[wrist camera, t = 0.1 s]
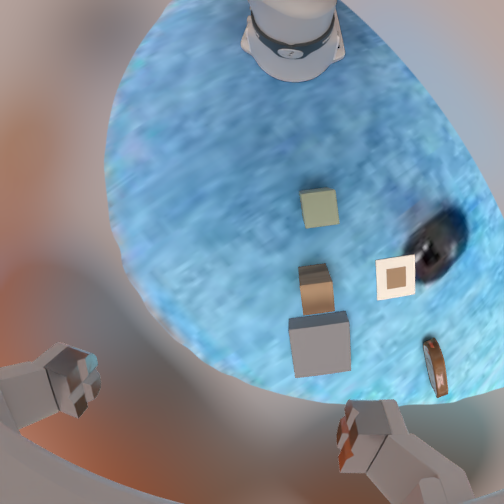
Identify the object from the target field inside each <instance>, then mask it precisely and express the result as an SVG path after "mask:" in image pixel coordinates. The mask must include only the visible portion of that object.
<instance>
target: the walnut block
mask: <svg viewBox="0 0 504 504" xmlns="http://www.w3.org/2000/svg"><path fill="white" fill-rule="evenodd" d="M298 269H299V281H300V291H301V299H302V307H303V315H310V314H317V313H325V312H332V311H335V307H334V295H333V283H332V279H331V277H330V274H329V271H328V269H327V266H326V264H325V263H324V264H317V265H309V266H302V267H298Z"/></svg>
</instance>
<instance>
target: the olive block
mask: <svg viewBox="0 0 504 504" xmlns="http://www.w3.org/2000/svg"><path fill="white" fill-rule="evenodd" d="M299 195H300V202H301V209H302V216H303V221H304V224H305V228H313V227H321V226H328V225H336V224H339V216H338V208H337V200H336V193H335V190H334V189H331V188H328V187H324V188H317V189H309V190H302V191H299Z"/></svg>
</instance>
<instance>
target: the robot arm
mask: <svg viewBox="0 0 504 504" xmlns="http://www.w3.org/2000/svg"><path fill="white" fill-rule="evenodd" d="M248 2H249V4H250V10H251V16H248V18H247V23H248V24H247V27H246V29H245V32H244V35H243V37H242V40H241V48H242V49H243V50H244V51H245V52H247V53H249V54H250V55H252V56H253V57H254V59H255V60H256V62H257V63H258V65H259V66H260V67H261V68H262V69H263V70H264V71H265V72H266V73H267V74H269V75H270V76H272V77H274V78H277V79H279V80H283V81H287V82H302V81H307V80H310V79H313V78H315V77H317V76H318V75H320V74H321V73H323V72H324V71H325V70H326V68H327V67H328V66H329V65H330V64H332V63H334V62H337V61H339V60H341V59H343V58H344V56H345V49H344V44H343V39H342V34H341V30H340V25H339V21H338V16H337V12H336V8H335V7H336V3H337V0H248ZM338 47H339V49H337V48H338ZM97 365H98V362H97V358H96V356H95V355H94V354H92V353H89V352H87V351H84V350H81V349H78V348H75V347H73V346H69V345H67V344H64V343H62V342H58V343H56V344H55V345H53V346H52V347H51V348H50V349H48V350H47V351H46V352H44V353H43V354H42V355H41V356H40V357H38V358H37V359H36V360H34V361H33V362H29V361H28V362H24V363H19V364H15V365H10V366H6V367H1V368H0V504H183V503H178V502H175V501H171V500H167V499H164V498H161V497H157V496H154V495H151V494H148V493H144V492H141V491H138V490H135V489H132V488H130V487H127V486H124V485H122V484H119V483H116V482H114V481H111V480H109V479H106V478H104V477H101V476H99V475H96V474H94V473H92V472H90V471H87V470H85V469H83V468H81V467H79V466H77V465H74V464H73V463H70V462H68V461H66V460H64V459H62V458H61V457H58V456H57V455H55V454H53V453H51V452H49V451H47V450H46V449H44V448H42V447H40V446H38V445H37V444H35V443H33V442H32V441H30V440H28V439H27V438H25V437H23V436H22V435H21V434H20V432H19V429H21V428H23V427H26V426H28V425H30V424H33V423H35V422H37V421H40V420H42V419H44V418H46V417H48V416H51V415H53V414H55V413H57V412H59V411H61V412H63V413H66V414H68V415H71V416H73V417H76V418H79V417H80V416H81V415H82V414H83V412H84V411H85V410H86V409H87V408H88V405H87V404H88V403H87V402H89V401H92V400H94V399H95V398H96V397H97V395H98V393H99V391H100V388H101V378H100V374H99V373H98V372H97V370H96V369H95V368H96V367H97ZM344 411H345V416H344V417H343V418H341V419H340V422H339V425H338V429H337V434H336V442H337V447H338V448H339V449H340V450H341V451H340V454H339V456H338V461H339V470H340V473H366V475H367V476H368V477H369V478H370V480H371V481H372V482H373V483H374V484H375V485H376V486H377V488H378V489H379V490H380V491H381V492H382V493H383V495H384V496H385V497H386V498H387V499H388V500H389V501H390V503H391V504H504V489H502V490H499V491H496V492H493V493H491V494H488V495H485V496H482V497H478V498H475V496H474V493H473V491H472V488H471V486H470V483H469V481H468V479H467V476H466V474H465V472H464V470H463V469H461V468H460V467H459V466H457V465H456V464H454V463H453V462H451V461H450V460H449V459H447V458H446V457H444V456H443V455H442V454H440V453H439V452H437V451H436V450H435V449H433V448H432V447H430V446H429V445H428V444H426V443H425V442H424V441H422V440H421V439H419V438H418V437H417V436H415V435H414V434H409V433H408V431H407V428H406V425H405V422H404V420H403V417H402V415H401V412H400V410H399V407H398V404H397V402H396V401H395V400H350V399H349V400H348V401H347V403H346V406H345V408H344Z"/></svg>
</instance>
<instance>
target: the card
mask: <svg viewBox="0 0 504 504" xmlns="http://www.w3.org/2000/svg"><path fill="white" fill-rule="evenodd" d="M375 262H376V281H377V300H383V299H389V298H395V297H401V296H407V295H412V294H415V255H414V254H413V255H406V256H400V257H393V258H386V259H379V260H375Z"/></svg>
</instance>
